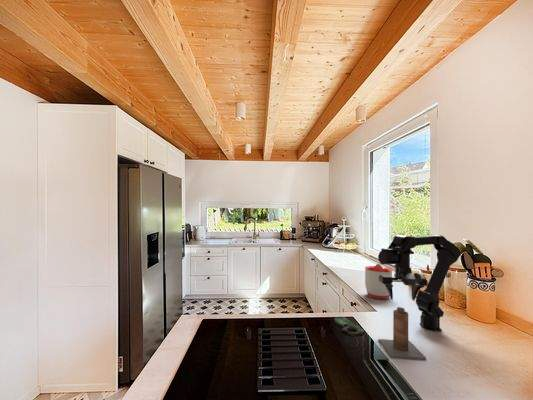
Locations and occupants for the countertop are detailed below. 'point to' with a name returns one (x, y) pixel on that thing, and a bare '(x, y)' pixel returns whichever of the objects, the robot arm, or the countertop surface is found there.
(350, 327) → the gun
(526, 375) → the countertop surface
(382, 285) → the citrus juicer
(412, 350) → the trivet mat
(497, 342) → the countertop surface
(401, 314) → the pepper mill
